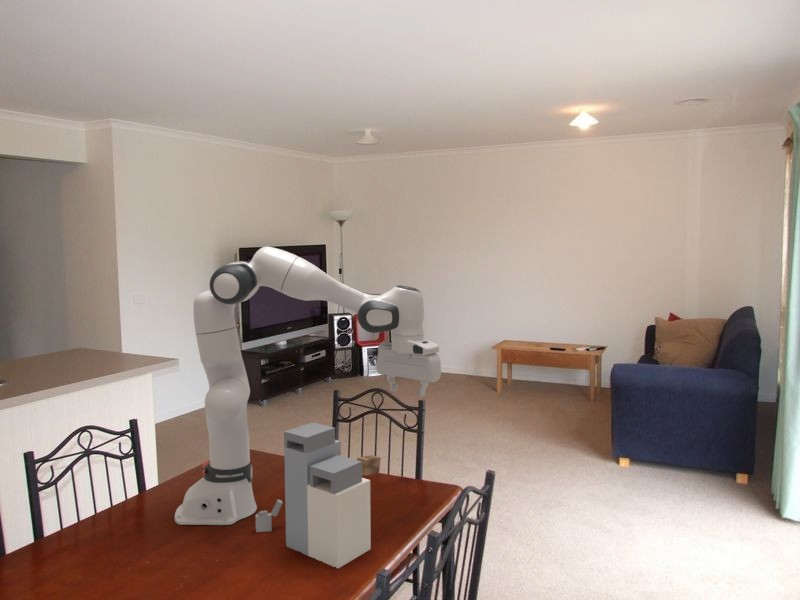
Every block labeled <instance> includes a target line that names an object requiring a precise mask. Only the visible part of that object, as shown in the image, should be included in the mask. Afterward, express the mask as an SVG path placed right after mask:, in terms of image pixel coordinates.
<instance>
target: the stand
mask: <svg viewBox="0 0 800 600" xmlns="http://www.w3.org/2000/svg"><path fill="white" fill-rule="evenodd" d="M341 442H342V441H341V440H338V439H336V427H333V426H330V425H329V426H328V425H324V424H321V423H317V422H309V423H307V424H302V425H300V426H297V427H294V428H291V429H290V428H289V429H288V430H285V431H284V430H283V443H284V444H283V445H284V446H283V448H284V451H283V452H284V453H283V454H284V493H285V494H284V496H285V497H284V499H285V500H284V501H285V503H284V504H285V506H284V507H285V544H286V545H285V546H286V548H289V549H291V550H294V551H295V552H298V551H299V552H298V553H300V552H301V554H303V555H306V556H307V557H310V558H312V559H314V558H315V559H314V560H317V561H319V562H321V561H322V562H321V563H323V564H327V565H328V566H331V567H333V568H335V567H336V569H340V568H342V567H343V566H345V565H346V564H348V563H350V562H352V561H353V560H355V559H357V558H358V557H360V556H362V555H363V554H366V552H368V551H370V550H371V549H372V548H371V547H372V546H371V544H372V543H371V541H372V539H371V537H372V536H371V535H372V534H371V533H372V532H371V522H372V521H371V520H372V519H371V518H372V517H371V479H367V478H365V477H363V475H362V462H361V461H358V460H357V459H354V458H350V457H348V456H347V457H346V456H343V455H342V452H341V451H342V449H341V448H342V447H341V446H342V445H341V444H342V443H341Z"/></svg>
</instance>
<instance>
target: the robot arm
mask: <svg viewBox="0 0 800 600" xmlns="http://www.w3.org/2000/svg"><path fill="white" fill-rule="evenodd" d="M262 287H267V288H268V287H269V288H271V289H273V290H274V291H277V292H279V293H281V294H284V295H286V296H288V297H290V298H294V299H296V300H300V301H301V300H302V301H307V302H309V301H325V302H329V303H332V304H335V305H337V306H340V307H342V308H344V309H346V310H348V311H350V312H352V313H354V314H357V320H358V321H357V322H358V324H359V326H360V327H361V328H362V329H363V330H364V331H366V332H368V333H372V334H381V333H383V332H389V331H391V342H390V341H385V340H384V341H382V342H380V343H379V344H378V347H377V349H378V351H377V357H376V368H375V369H376V371H377V374H379V375H386V380H387V381H388V384H389V390H390V391H391V392H398V391H399V384H398V383H397V382H396V380H395V378H396V377H398V378H404V379H410V380H415V381H419V382H420V383H419V384H420V388H419V389H417V391H416V392H417V394H416V395H417V396H418V397H425V396H426V390H427V388H428V386H429V384H430V383H436V382H437V381H439V380H440V379H441V377H442V366H441V358H440V355H439V354H438V353H439V352H440V346H439V344H437V343H436V342H433V341H431V340H430V339H428V338H426V337H425V335H424V333H425V332H424V328H423V322H424V319H425V315H424V314H425V312H424V307H425V306H424V299H423V294H422V293H421V291H420V290H419V289H417V288H415V287H413V286H409V285H402V284H399V285H395V286H394V287H393V288H391V289H389V290H388V291H386V292H384V293H366V292H364V291H360V290H359V289H356V288H354V287H352V286H350V285H348V284H345V283H344V282H341V281H339V280H337V279H335V278H333V277H332V276H331V275H329V274H328V273H326V272H324V270H322V269H320V268H319V267H318V266H316V265H315V264H313V263H311V262H309V261H308V260H306V259H304V258H303V257H300V256H298V255H296V254H295V253H291V252H289V251H286V250H284V249H280V248H276V247H273V246H272V247H271V246H263V247H260V248H259V249H258V250H257V251H256V252H255V253H254V254H253V257H252V258H251V260H250V261H247V260H240V261H232V262H229V263H227V264H225V265H222V266H220V267H218V268H216V270H215V271H214V272H213V273H212V275H211V277H210V280H209V290H206V291H203V292H201V293H199V294H198V295H196V297H195V298H194V300H193V323H194V325H193V326H194V331H195V337H196V343H197V349H198V352H199V358H200V362H201V364H202V366H203V369H204V372H205V375H206V379H207V382H208V386H209V389H208V391H207V392H206V393H205V397H204V410H205V411H204V412H205V419H206V426H207V432H208V442H209V447H208V448H209V461H208V460H205V461H204V462H203V464H202V477H201V478H200V479H199V480H197V482H195V483H194V484H193V485H192V486H190V487H189V488H188V489H187V490H186V492H185V494H184V498H183V501H182V503H181V504H180V505H179V506H178V507H177V508H176V510H175V513H174V522H175V523H176V524H177V525H183V526H185V525H188V526H189V525H191V526H194V525H195V526H196V525H197V526H198V525H200V526H201V525H208V526H212V525H213V526H225V525H226V526H230V525H233V524H235V523H237V522H238V521H240V520H242V519H246V518H247V517H249V516H251V515H253V514H255V513H256V511H257V509H258V506H257V503H256V500H255V497H254V492H253V491H254V490H253V485H252V480H253V465H252V460H251V456H250V455H251V454H250V453H251V451H250V450H251V449H250V432H249V424H248V410H247V407H248V401H249V398H250V394H251V388H250V384H249V383H250V382H249V378H248V374H247V371H246V366H245V363H244V359H243V356H242V352H241V345H240V340H239V335H238V334H239V333H238V330H237V329H238V328H237V324H236V319H235V308H236V306H237V304H239V303H242V302H245V301H248V300H249V299H251V298H252V297H254V296H255V295H256V294H258V292H259V291H260V290H261V288H262Z"/></svg>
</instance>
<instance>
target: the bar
mask: <svg viewBox="0 0 800 600" xmlns="http://www.w3.org/2000/svg"><path fill="white" fill-rule="evenodd" d="M356 458H357V459H356V460H358V461H361V462H362V476H369V475H375V474H379V473H380V467H381V459H382V458H381V456H380V457H379V456H376V455H371V454H370V455H365V456H360V457H359V456H358V457H356Z"/></svg>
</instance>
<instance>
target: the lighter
mask: <svg viewBox="0 0 800 600" xmlns="http://www.w3.org/2000/svg"><path fill="white" fill-rule="evenodd" d="M282 505H283V500H282V499H278V498H277V499H276V502H275V503H274V506H273V508H272V510H271V512H268V510H260V511H259V512H258V513H256V514H255V533H256V534H257V532H258V533H265V532H272V530H273V528H272V527H273V525H272V522H273V521H272V519H273V518H272V517H277V516H278V514H279V511H280V510H281V507H282Z"/></svg>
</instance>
